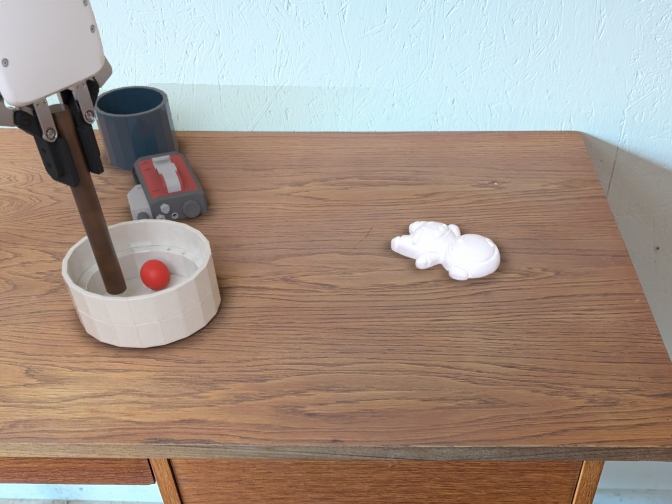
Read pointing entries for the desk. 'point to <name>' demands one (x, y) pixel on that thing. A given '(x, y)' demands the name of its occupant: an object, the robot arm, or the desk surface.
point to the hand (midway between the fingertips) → (77, 174)
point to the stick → (90, 205)
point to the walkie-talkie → (165, 188)
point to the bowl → (138, 300)
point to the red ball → (155, 274)
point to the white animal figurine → (448, 249)
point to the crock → (134, 124)
